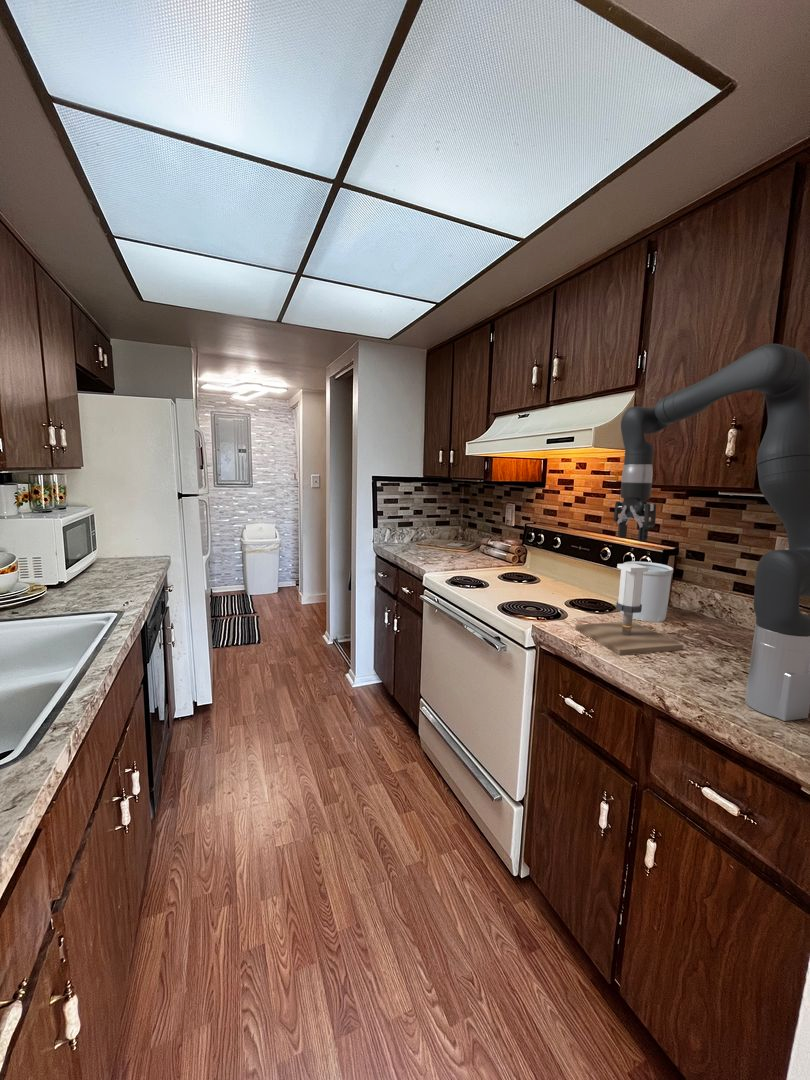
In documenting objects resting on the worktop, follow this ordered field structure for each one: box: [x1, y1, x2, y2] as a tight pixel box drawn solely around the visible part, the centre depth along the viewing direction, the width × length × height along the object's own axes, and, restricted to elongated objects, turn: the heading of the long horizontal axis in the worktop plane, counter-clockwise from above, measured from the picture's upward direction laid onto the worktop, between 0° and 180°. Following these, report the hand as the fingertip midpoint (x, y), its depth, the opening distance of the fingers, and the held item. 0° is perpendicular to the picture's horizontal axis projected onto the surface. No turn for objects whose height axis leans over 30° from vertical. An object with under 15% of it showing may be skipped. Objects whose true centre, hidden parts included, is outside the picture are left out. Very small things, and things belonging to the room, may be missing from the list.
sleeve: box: [616, 563, 648, 607], centre depth 128 cm, size 6×6×11 cm
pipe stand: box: [574, 612, 684, 656], centre depth 129 cm, size 20×20×14 cm
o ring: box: [615, 600, 642, 613], centre depth 129 cm, size 6×6×2 cm
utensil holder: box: [620, 560, 674, 623], centre depth 151 cm, size 15×15×18 cm
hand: (631, 539), depth 126 cm, fingers open, 8 cm apart
